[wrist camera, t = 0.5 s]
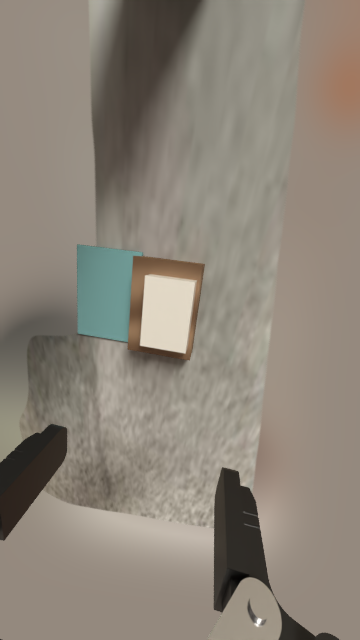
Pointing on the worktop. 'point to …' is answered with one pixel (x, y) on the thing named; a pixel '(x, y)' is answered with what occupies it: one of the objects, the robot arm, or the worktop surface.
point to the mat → (104, 291)
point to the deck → (139, 271)
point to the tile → (167, 312)
